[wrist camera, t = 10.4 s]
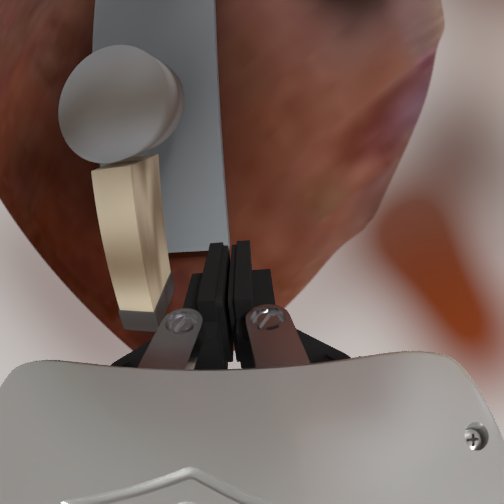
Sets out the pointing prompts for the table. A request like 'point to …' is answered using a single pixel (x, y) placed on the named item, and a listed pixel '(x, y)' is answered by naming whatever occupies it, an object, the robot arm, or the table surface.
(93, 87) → the lever handle
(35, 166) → the table surface
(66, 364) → the robot arm
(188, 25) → the mount plate
